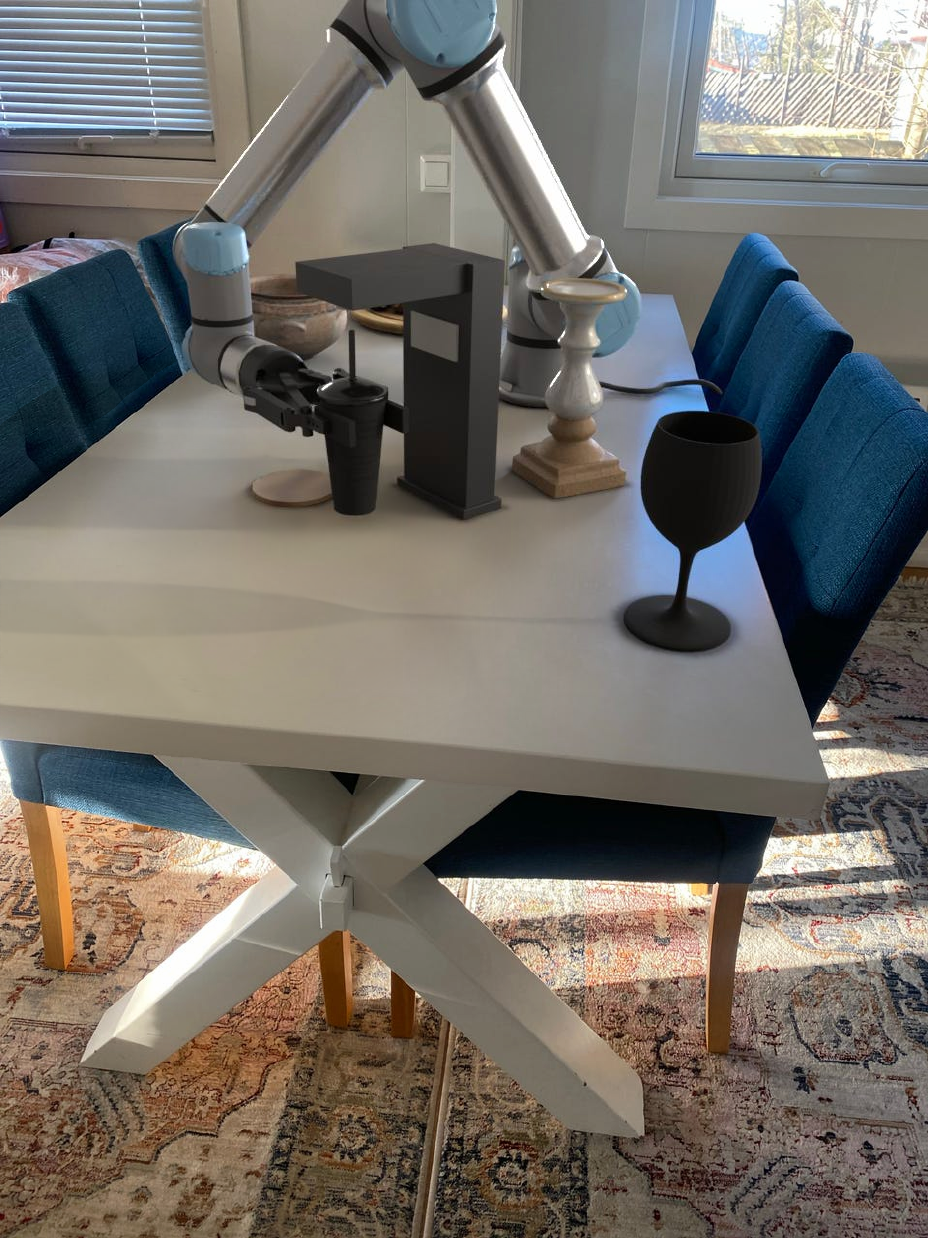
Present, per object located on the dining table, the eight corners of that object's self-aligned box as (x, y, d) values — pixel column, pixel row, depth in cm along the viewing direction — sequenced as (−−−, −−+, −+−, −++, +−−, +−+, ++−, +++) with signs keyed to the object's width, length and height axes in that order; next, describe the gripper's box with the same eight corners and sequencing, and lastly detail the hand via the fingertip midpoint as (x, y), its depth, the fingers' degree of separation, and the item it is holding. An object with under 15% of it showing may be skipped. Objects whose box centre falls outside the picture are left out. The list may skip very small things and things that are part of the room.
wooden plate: (416, 293, 217) (416, 254, 212) (537, 316, 201) (540, 274, 197) (316, 319, 194) (314, 276, 190) (444, 347, 178) (445, 301, 174)
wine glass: (612, 598, 99) (635, 407, 88) (712, 596, 100) (746, 407, 89) (636, 654, 90) (665, 448, 80) (746, 651, 91) (787, 447, 80)
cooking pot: (243, 338, 181) (237, 269, 174) (346, 337, 183) (343, 269, 177) (234, 377, 159) (227, 301, 153) (350, 376, 162) (348, 300, 156)
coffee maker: (433, 474, 126) (436, 241, 111) (501, 507, 117) (513, 260, 103) (303, 513, 115) (287, 259, 100) (367, 552, 106) (360, 281, 92)
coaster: (341, 474, 125) (341, 470, 125) (332, 507, 116) (332, 503, 116) (260, 472, 125) (260, 468, 125) (245, 505, 116) (245, 501, 116)
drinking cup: (378, 525, 107) (377, 342, 97) (312, 517, 109) (304, 335, 98) (396, 498, 114) (396, 325, 104) (333, 491, 115) (328, 318, 105)
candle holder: (554, 499, 120) (569, 300, 108) (509, 468, 128) (519, 280, 116) (626, 485, 124) (649, 292, 112) (579, 456, 133) (595, 274, 121)
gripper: (334, 391, 125) (449, 442, 110) (196, 421, 114) (303, 482, 99) (331, 331, 121) (450, 376, 106) (188, 357, 110) (299, 410, 95)
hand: (379, 427), depth 102 cm, fingers closed on drinking cup, 6 cm apart
